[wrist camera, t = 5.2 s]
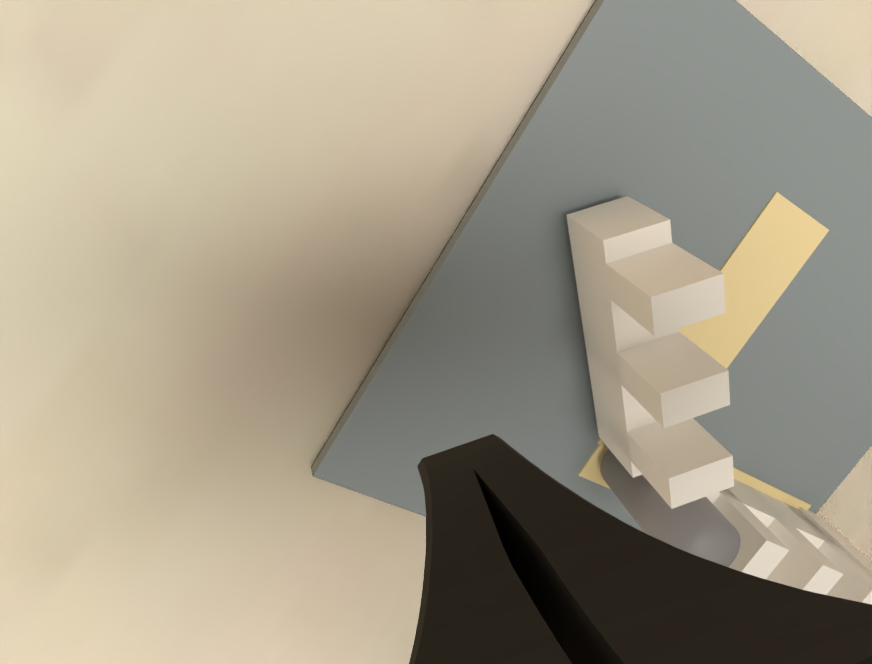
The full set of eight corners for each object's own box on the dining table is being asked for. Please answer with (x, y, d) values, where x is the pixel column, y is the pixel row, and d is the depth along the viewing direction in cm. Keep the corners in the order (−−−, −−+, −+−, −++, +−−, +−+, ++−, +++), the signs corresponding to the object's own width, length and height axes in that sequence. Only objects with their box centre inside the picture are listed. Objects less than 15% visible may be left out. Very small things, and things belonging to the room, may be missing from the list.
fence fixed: (636, 492, 23) (720, 596, 20) (671, 444, 23) (765, 541, 19) (787, 557, 26) (886, 659, 23) (821, 516, 26) (928, 612, 22)
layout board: (1016, 248, 24) (1030, 253, 23) (719, 615, 27) (727, 625, 27) (640, -73, 17) (651, -74, 17) (311, 467, 21) (313, 477, 20)
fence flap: (660, 475, 23) (741, 567, 20) (604, 495, 23) (675, 592, 19) (631, 194, 19) (726, 246, 16) (562, 215, 19) (643, 274, 15)
